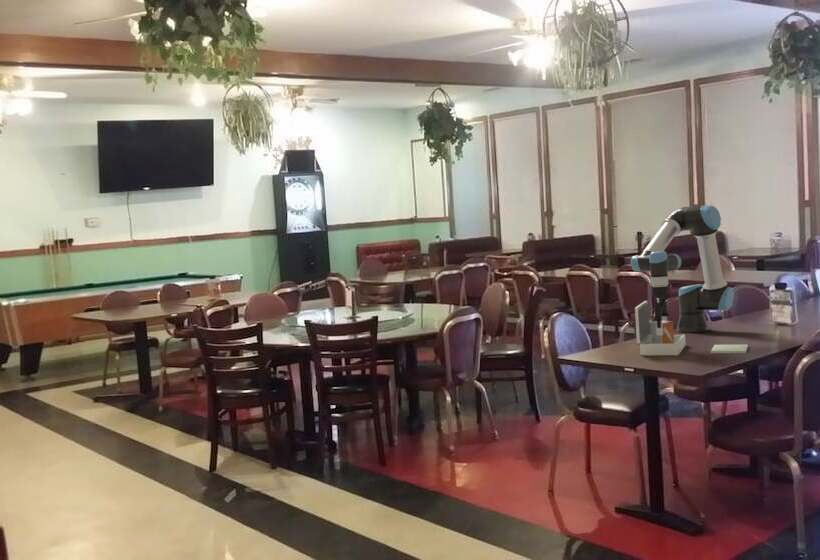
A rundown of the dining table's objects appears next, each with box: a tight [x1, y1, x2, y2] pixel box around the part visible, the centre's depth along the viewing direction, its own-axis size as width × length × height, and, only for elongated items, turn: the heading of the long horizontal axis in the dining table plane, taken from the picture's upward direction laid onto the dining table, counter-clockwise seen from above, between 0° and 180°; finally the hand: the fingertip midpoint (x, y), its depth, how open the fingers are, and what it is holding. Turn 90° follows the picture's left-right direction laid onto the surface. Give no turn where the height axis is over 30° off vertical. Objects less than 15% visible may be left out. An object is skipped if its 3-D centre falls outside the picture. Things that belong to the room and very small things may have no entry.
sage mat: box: [710, 344, 749, 354], centre depth 361 cm, size 16×14×1 cm
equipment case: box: [634, 300, 686, 356], centre depth 373 cm, size 26×17×21 cm, turn 154°
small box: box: [651, 320, 675, 344], centre depth 372 cm, size 8×6×13 cm
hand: (662, 332), depth 372 cm, fingers open, 13 cm apart
